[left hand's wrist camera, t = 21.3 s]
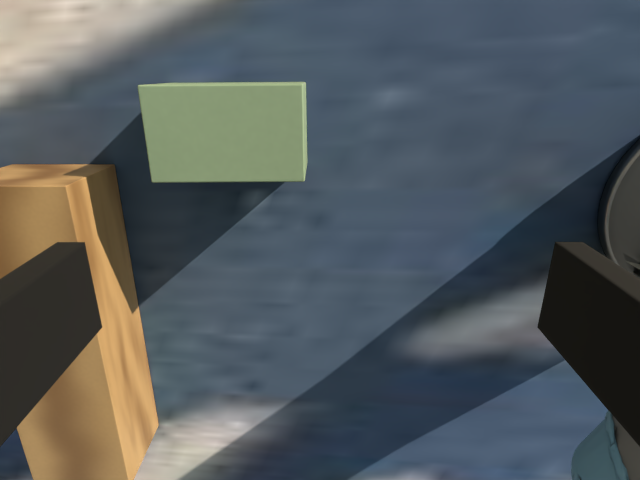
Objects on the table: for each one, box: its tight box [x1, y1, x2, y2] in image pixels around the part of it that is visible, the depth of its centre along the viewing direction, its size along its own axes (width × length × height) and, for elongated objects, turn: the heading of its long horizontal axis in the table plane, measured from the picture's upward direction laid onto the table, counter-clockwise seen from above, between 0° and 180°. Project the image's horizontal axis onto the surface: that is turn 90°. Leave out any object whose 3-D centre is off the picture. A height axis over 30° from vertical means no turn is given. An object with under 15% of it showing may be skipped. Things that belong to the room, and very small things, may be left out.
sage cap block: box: [138, 82, 307, 183], centre depth 30 cm, size 10×6×6 cm, turn 90°
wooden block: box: [0, 164, 159, 480], centre depth 35 cm, size 8×26×7 cm, turn 0°
